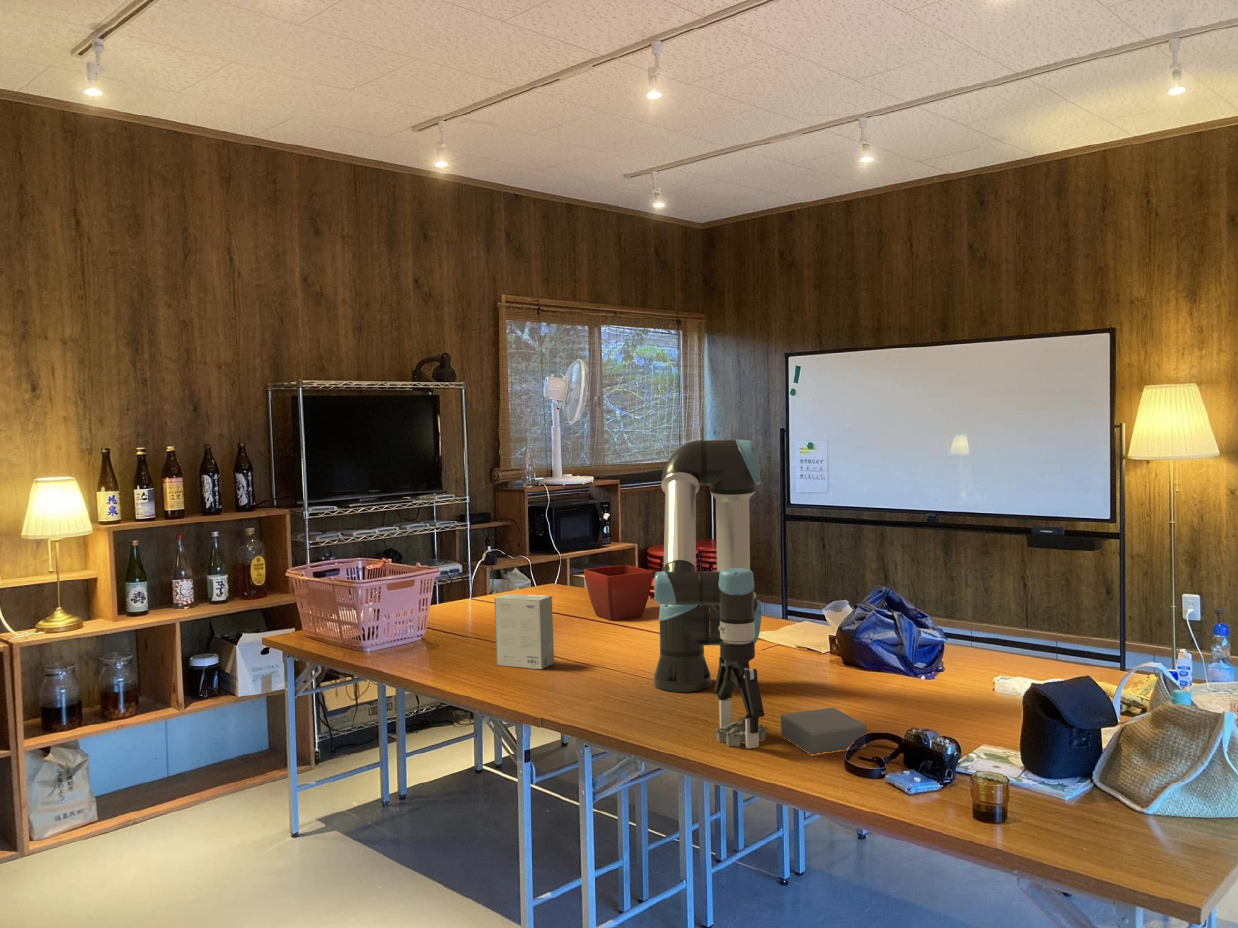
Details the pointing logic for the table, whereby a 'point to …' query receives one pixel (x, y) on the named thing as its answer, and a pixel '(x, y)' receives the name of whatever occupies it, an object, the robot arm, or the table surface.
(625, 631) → the table surface
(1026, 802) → the table surface
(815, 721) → the plinth
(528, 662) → the hard drive box
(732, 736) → the egg carton
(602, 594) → the plant pot
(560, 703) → the table surface
